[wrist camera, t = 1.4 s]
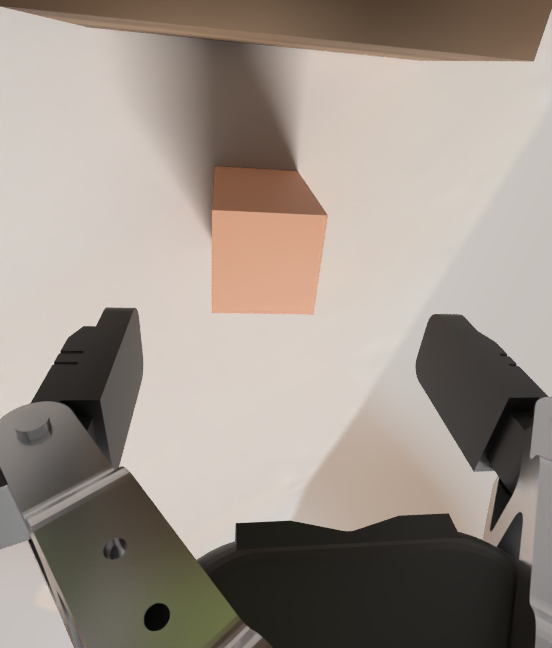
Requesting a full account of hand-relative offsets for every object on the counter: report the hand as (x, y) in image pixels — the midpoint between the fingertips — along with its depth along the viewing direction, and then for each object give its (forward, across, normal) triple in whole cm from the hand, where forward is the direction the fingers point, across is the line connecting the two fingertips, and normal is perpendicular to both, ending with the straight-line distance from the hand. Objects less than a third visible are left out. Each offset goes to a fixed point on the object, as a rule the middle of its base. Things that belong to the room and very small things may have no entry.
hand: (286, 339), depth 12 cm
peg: (+12, 0, 0) cm, 12 cm away
